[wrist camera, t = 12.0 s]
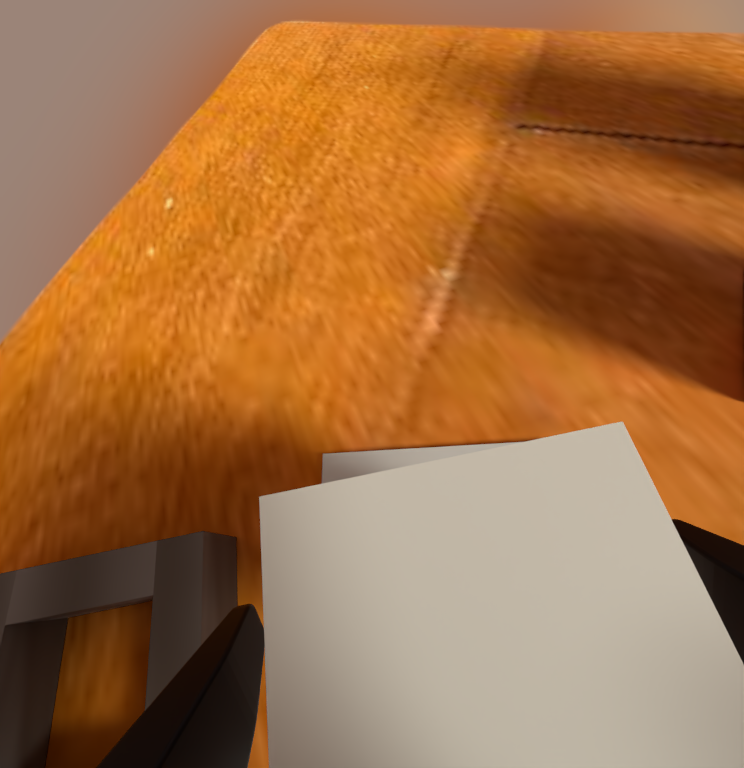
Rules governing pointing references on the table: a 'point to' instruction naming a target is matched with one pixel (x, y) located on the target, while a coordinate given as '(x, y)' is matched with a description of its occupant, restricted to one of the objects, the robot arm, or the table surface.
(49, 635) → the block
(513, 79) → the table surface
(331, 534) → the off-white block
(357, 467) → the rubber mat
